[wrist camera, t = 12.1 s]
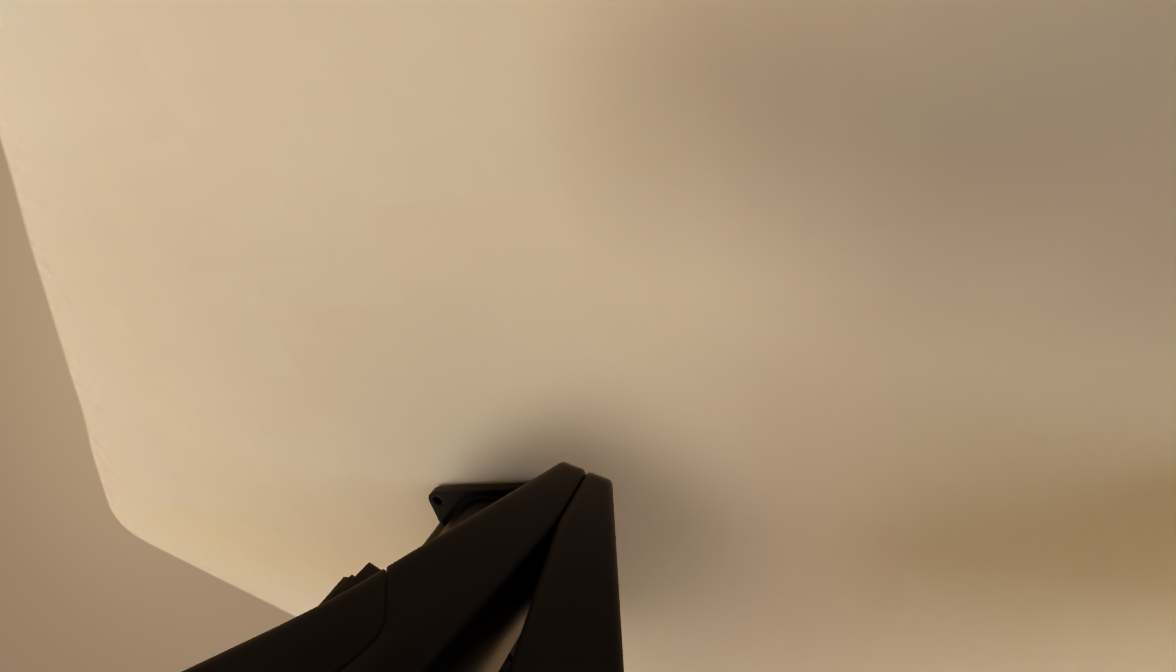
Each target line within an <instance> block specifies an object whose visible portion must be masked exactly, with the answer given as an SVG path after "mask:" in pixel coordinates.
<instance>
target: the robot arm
mask: <svg viewBox="0 0 1176 672" xmlns="http://www.w3.org/2000/svg"><path fill="white" fill-rule="evenodd" d="M429 501H430V503H431V505H432V507H433V509H434V511H435V513H436V515H437V517H438V520H439V522H440V524H439V525H438V526H437V527H436V529H435V530H434V531H433V533H432V534H431V535H430V537H429V538H428V539H427V540H426V542H425V543H424V544H423V546H421V547H419V548H418V549H416V550H414V551H413V552H411V553H409V554H408V555H406V556H404V557H403V558H401V559H399V560H398V561H396V562H394V563H393V564H391V565H389V566H388V567H387V572H386V570H384V569H382V570H380V569H379V568H377V567H376V566H374V565H373V564H371V563H370V562H369V563H368V564H367V565H366V566H365V567H364V568H363V569H362V570H361V571H360V572H359V573H358V574H357V575H356V576H353V575H351V576H350V577H343V578H342V580H341V581H340V582H339V583H338V584H337V585H336V587H335V588H334V589H333V590H332V591H331V592H330V593H329V595H328V596H327V597H326V598H325V599H324V600H323V601H322V602H321V603H320V605H319V606H317V607H315V608H313V609H311V610H309V611H307V612H305V613H303V614H301V615H299V616H297V617H295V618H293V619H291V620H289V621H288V622H285V623H283V624H281V625H280V626H277V627H275V628H273V629H271V630H269V631H267V632H265V633H262V634H261V635H258V636H256V637H254V638H252V639H250V640H248V641H246V642H243V643H242V644H239V645H237V646H235V647H233V648H231V649H229V650H227V651H225V652H222V653H220V654H218V655H216V656H214V657H212V658H210V659H208V660H206V661H203V662H201V663H199V664H197V665H195V666H193V667H191V668H189V669H186V670H184V671H182V672H624V666H623V649H622V633H621V617H620V601H619V584H618V568H617V552H616V536H615V520H614V503H613V487H612V482H611V481H610V480H609V479H607V478H604V477H602V476H599V475H596V474H594V473H591V472H590V473H587V474H586V472H585V471H584V470H583V469H581V468H579V467H576V466H574V465H571V464H568V463H566V462H562V463H559V464H558V465H556V466H554V467H553V468H551V469H549V470H548V471H546V472H544V473H543V474H541V475H539V476H538V477H536V478H534V479H533V480H531V481H529V482H522V483H503V484H485V485H466V486H448V487H437V488H435V489H434V490H433V491H432V492H431V494H430V495H429Z"/></svg>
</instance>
